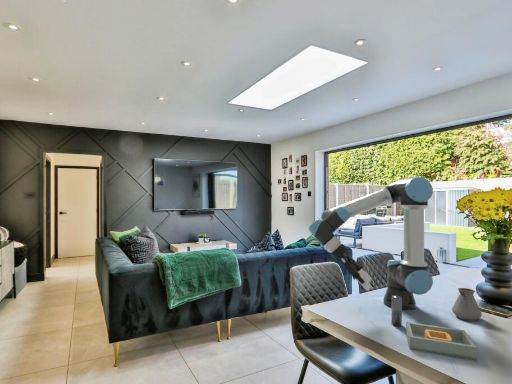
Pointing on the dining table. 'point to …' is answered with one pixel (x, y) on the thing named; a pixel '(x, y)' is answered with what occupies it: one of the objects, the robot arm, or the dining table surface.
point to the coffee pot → (466, 305)
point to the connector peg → (396, 310)
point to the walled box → (440, 341)
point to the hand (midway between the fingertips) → (369, 285)
